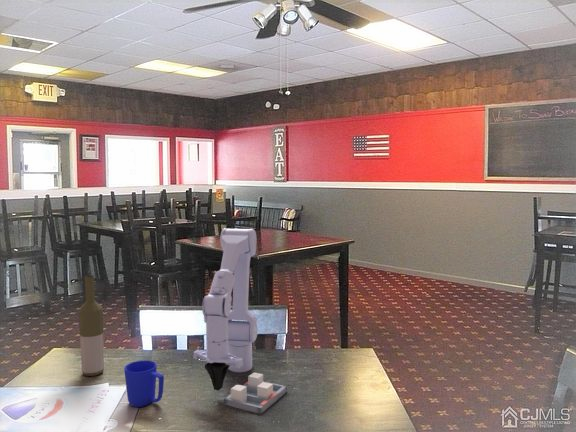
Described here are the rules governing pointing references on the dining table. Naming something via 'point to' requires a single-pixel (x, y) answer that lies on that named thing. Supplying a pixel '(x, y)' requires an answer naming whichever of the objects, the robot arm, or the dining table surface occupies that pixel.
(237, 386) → the tab near
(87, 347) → the bottle
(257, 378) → the tab far
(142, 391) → the mug
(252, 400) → the switch bank
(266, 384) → the tab mid
